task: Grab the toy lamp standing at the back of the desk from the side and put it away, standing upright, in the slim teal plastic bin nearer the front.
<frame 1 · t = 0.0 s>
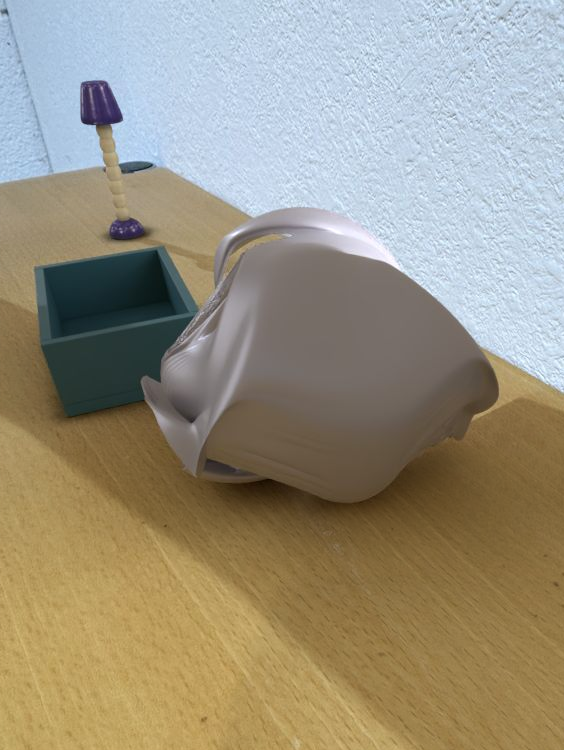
bin: (129, 354, 61), on the table
toy lamp: (130, 235, 88), on the table
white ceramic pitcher: (323, 468, 47), on the table
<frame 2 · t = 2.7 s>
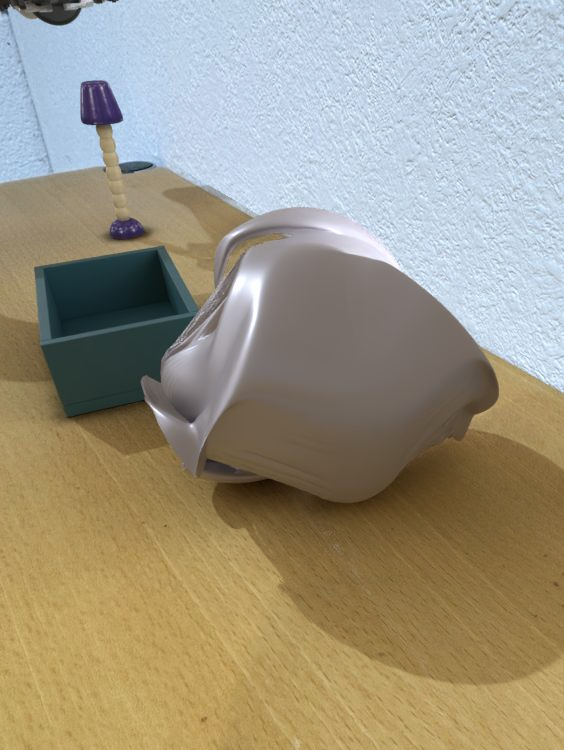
nothing on the table moved.
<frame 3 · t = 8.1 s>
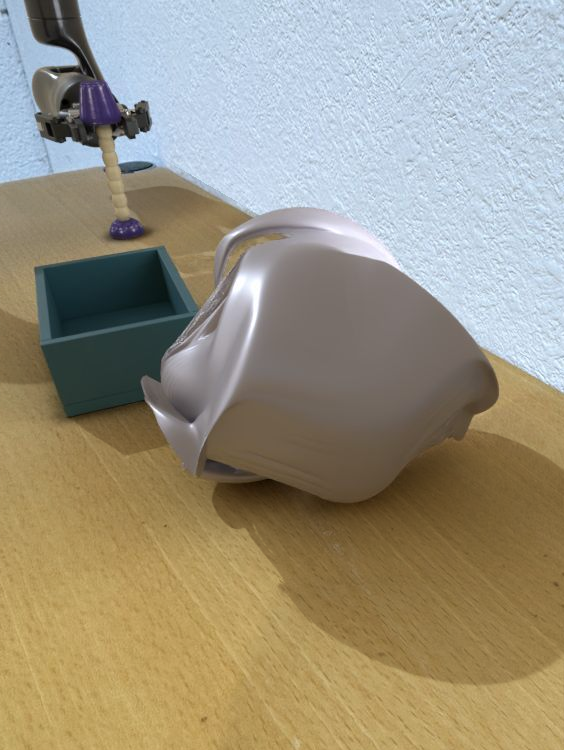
hand: (107, 131, 78), 12 cm above the table, tool horizontal, fingers closed on toy lamp, 4 cm apart
toy lamp: (131, 235, 88), on the table, touching gripper
everything else where it was.
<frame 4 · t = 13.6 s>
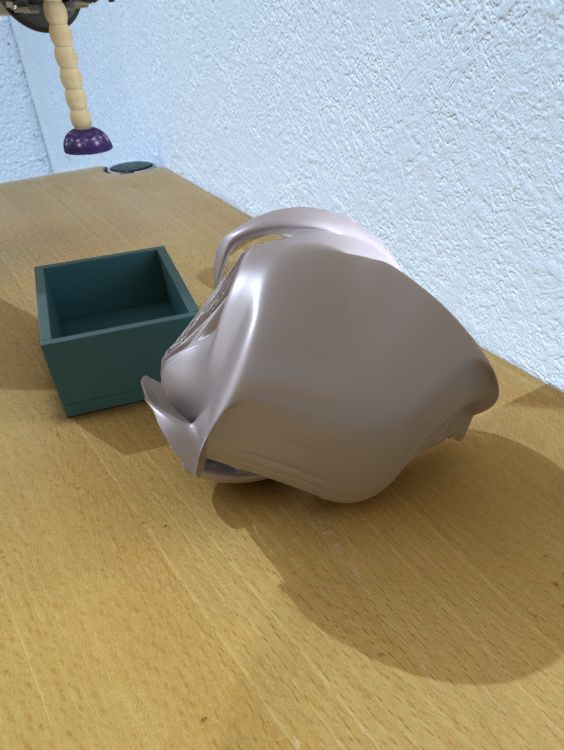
toy lamp: (93, 152, 63), point 14 cm above the table, touching gripper
everything else where it was.
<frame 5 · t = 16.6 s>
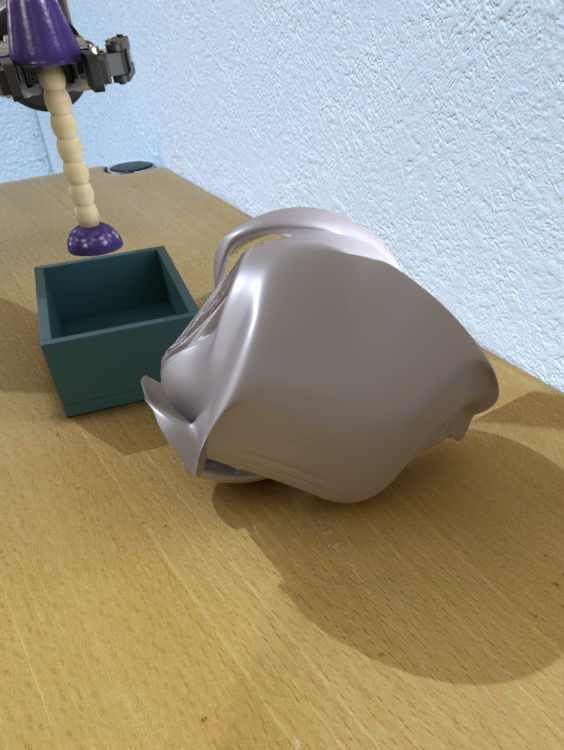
hand: (56, 78, 46), 21 cm above the table, tool horizontal, fingers closed on toy lamp, 4 cm apart
toy lamp: (101, 250, 56), point 9 cm above the table, touching gripper
everything else where it was.
when the fingers open (13 cm above the table, at t = 19.2 s): toy lamp stays where it is, resting on bin.
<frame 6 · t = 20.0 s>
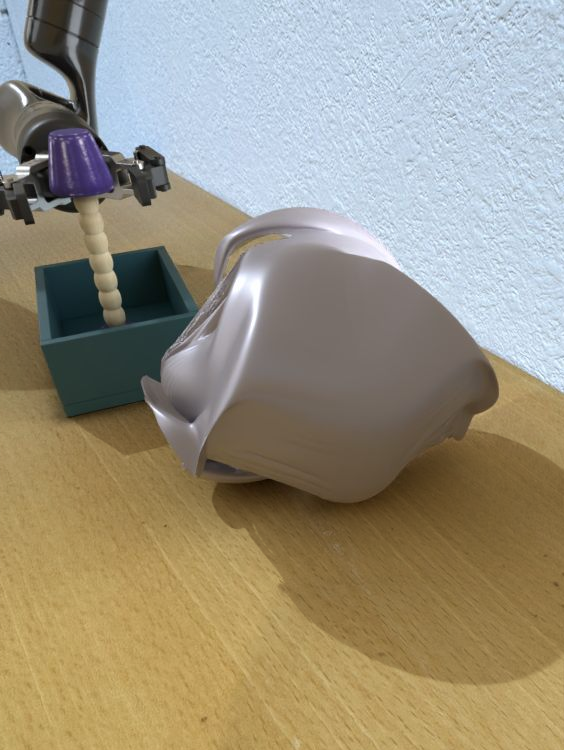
hand: (86, 201, 52), 13 cm above the table, tool horizontal, fingers open, 8 cm apart
toy lamp: (126, 345, 61), point 1 cm above the table, touching bin
everything else where it was.
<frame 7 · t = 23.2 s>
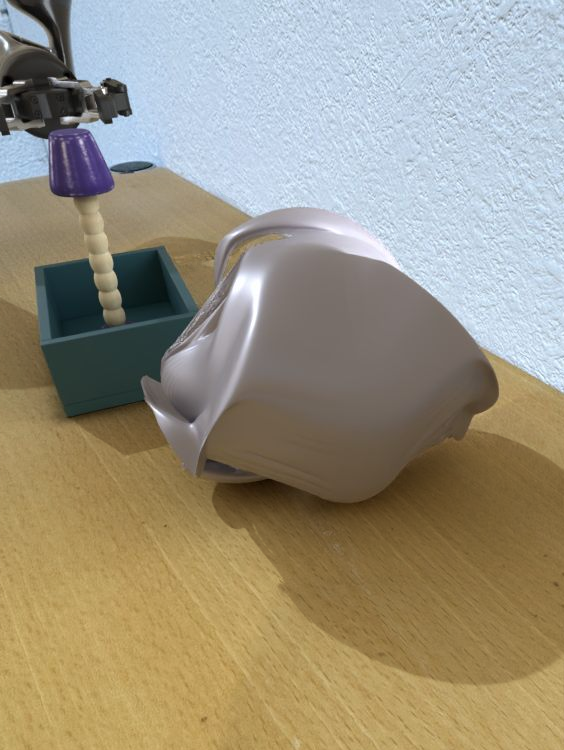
hand: (55, 116, 60), 17 cm above the table, tool horizontal, fingers open, 8 cm apart
nothing on the table moved.
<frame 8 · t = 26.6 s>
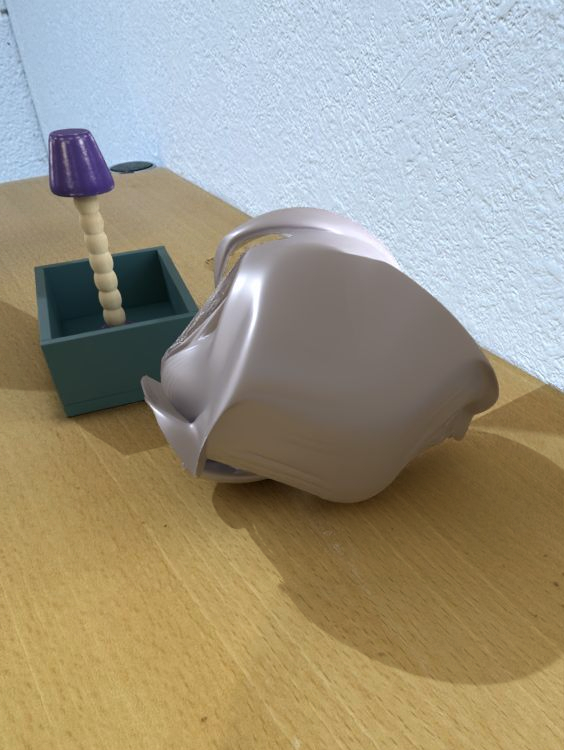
nothing on the table moved.
at the end: toy lamp inside the target area in the bin (0.1 cm from its centre), point 0.8 cm above the bin's base; toy lamp tilted 0°; the gripper is holding nothing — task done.
